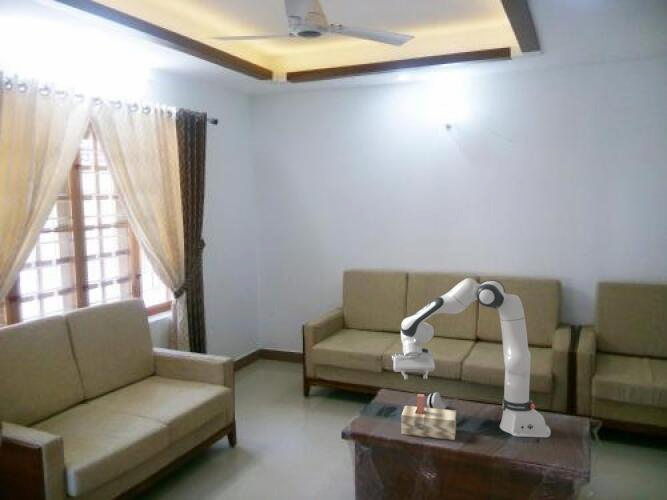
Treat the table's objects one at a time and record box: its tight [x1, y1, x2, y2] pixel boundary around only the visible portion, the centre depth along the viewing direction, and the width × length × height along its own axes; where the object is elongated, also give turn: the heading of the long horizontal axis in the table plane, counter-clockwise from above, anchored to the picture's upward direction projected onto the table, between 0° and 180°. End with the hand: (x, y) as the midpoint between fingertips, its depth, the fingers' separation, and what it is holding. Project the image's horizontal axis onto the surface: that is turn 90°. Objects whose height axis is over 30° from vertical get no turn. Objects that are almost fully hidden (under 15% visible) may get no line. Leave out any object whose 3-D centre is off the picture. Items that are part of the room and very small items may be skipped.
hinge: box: [426, 392, 447, 410], centre depth 284 cm, size 17×5×10 cm, turn 160°
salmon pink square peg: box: [416, 393, 425, 414], centre depth 260 cm, size 3×3×14 cm
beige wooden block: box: [400, 405, 457, 441], centre depth 259 cm, size 24×12×9 cm, turn 75°
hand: (416, 378), depth 270 cm, fingers open, 8 cm apart
